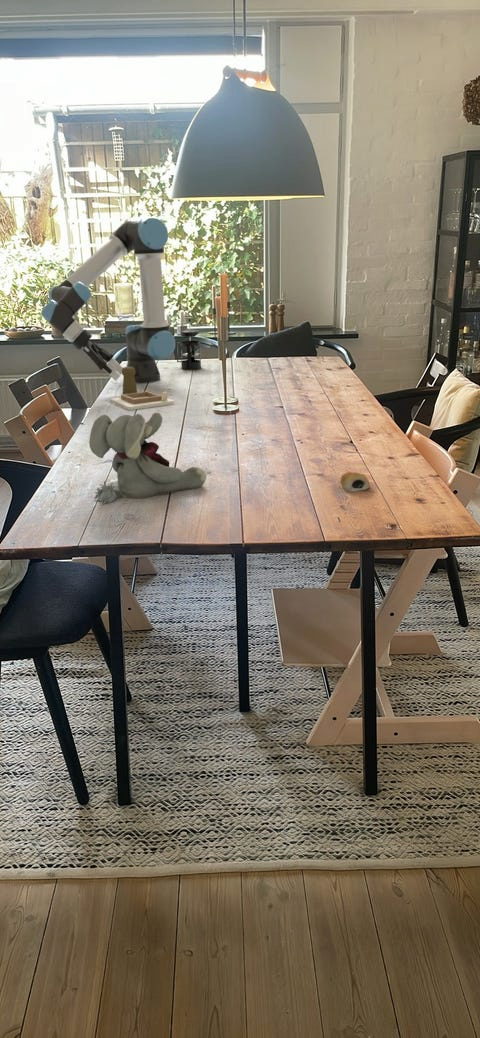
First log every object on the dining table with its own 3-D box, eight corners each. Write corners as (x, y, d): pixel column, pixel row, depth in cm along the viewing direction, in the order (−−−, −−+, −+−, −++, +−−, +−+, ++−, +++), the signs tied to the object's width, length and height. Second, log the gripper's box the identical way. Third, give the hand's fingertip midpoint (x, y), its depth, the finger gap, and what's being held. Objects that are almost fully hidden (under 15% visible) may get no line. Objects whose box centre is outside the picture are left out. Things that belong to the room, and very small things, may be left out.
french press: (204, 366, 358) (202, 315, 349) (201, 370, 349) (199, 318, 341) (179, 366, 359) (177, 316, 351) (175, 370, 350) (173, 318, 342)
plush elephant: (153, 469, 206) (148, 392, 198) (210, 486, 191) (207, 404, 184) (68, 494, 188) (60, 410, 180) (125, 515, 173) (118, 425, 166)
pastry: (335, 481, 194) (336, 466, 192) (361, 480, 194) (362, 465, 193) (345, 493, 185) (345, 478, 184) (372, 491, 186) (373, 476, 184)
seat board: (153, 395, 296) (152, 385, 295) (174, 404, 282) (173, 392, 280) (109, 401, 288) (108, 390, 286) (129, 410, 273) (128, 398, 272)
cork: (139, 394, 300) (137, 365, 296) (136, 397, 295) (134, 368, 291) (124, 394, 301) (122, 365, 297) (120, 397, 295) (118, 368, 291)
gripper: (77, 338, 301) (118, 376, 307) (64, 347, 278) (109, 388, 283) (89, 324, 300) (130, 362, 305) (78, 332, 276) (122, 373, 282)
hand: (120, 375), depth 294 cm, fingers open, 13 cm apart
